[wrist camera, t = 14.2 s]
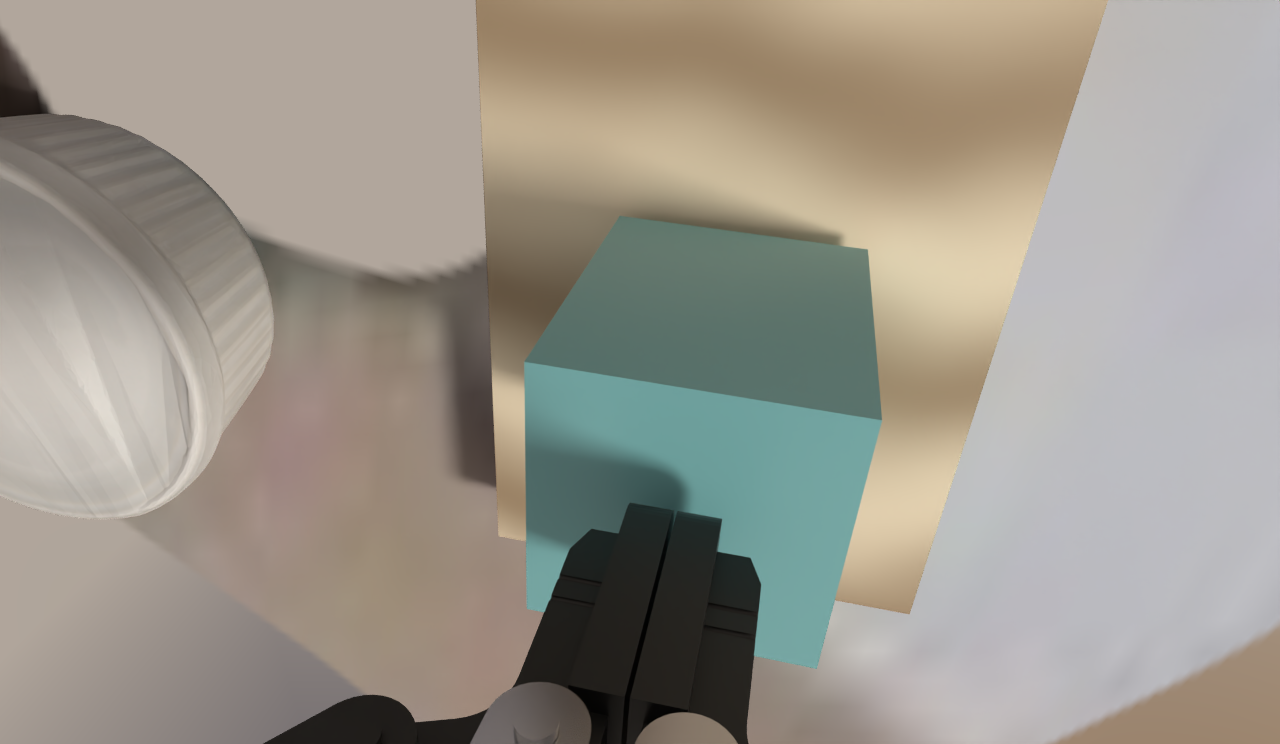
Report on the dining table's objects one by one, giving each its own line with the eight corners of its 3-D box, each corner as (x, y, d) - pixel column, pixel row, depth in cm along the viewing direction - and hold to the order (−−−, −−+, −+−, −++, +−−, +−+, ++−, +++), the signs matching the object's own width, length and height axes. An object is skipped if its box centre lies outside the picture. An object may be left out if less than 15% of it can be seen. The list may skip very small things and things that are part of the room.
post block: (507, -73, 18) (290, -44, 11) (1085, -27, 16) (1277, 44, 9) (520, 494, 26) (401, 722, 19) (904, 564, 25) (931, 843, 17)
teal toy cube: (619, 215, 18) (524, 361, 13) (867, 249, 17) (882, 420, 12) (609, 417, 21) (527, 608, 15) (822, 453, 20) (816, 669, 15)
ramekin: (384, 313, 24) (282, 411, 20) (192, 473, 29) (76, 579, 25) (68, -15, 21) (-138, 12, 17) (-85, 229, 26) (-273, 300, 22)
